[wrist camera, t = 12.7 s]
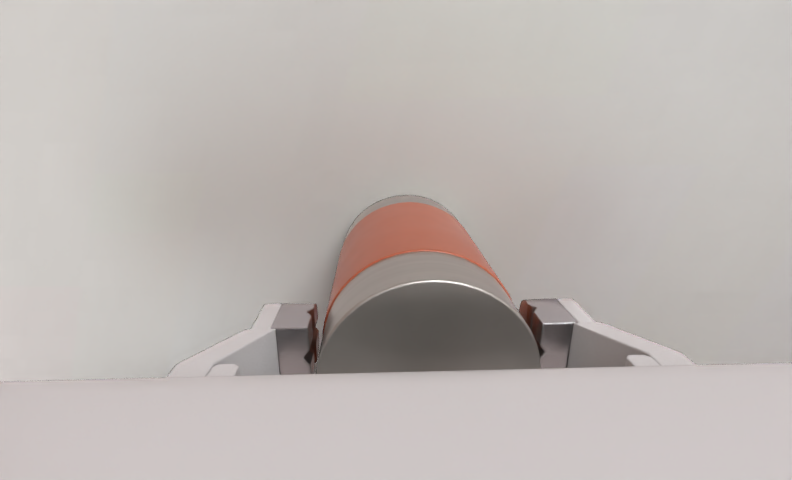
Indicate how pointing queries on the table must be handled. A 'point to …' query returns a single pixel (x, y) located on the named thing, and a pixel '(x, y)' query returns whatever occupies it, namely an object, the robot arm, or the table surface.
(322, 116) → the table surface
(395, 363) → the can
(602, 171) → the table surface
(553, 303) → the robot arm
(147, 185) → the table surface
